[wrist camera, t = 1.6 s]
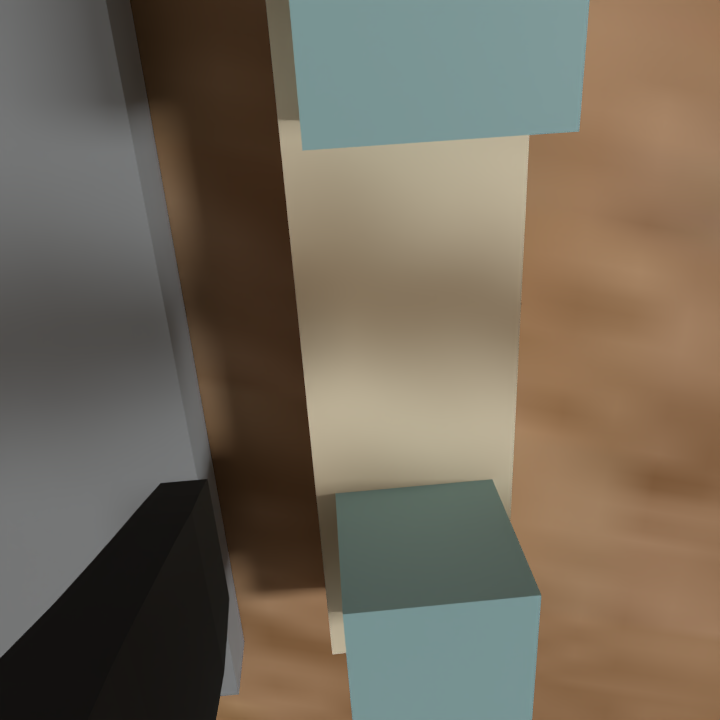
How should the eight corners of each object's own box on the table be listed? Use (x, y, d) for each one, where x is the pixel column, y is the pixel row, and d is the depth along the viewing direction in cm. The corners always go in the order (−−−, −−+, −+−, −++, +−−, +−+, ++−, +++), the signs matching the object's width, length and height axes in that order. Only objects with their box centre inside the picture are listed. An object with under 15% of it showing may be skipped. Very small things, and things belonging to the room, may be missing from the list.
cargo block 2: (488, 597, 19) (531, 728, 15) (345, 611, 19) (355, 746, 15) (492, 479, 17) (541, 595, 14) (335, 493, 17) (342, 614, 13)
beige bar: (480, 564, 22) (504, 637, 20) (329, 579, 22) (332, 654, 19) (500, -195, 14) (547, -252, 11) (254, -183, 14) (240, -238, 11)
